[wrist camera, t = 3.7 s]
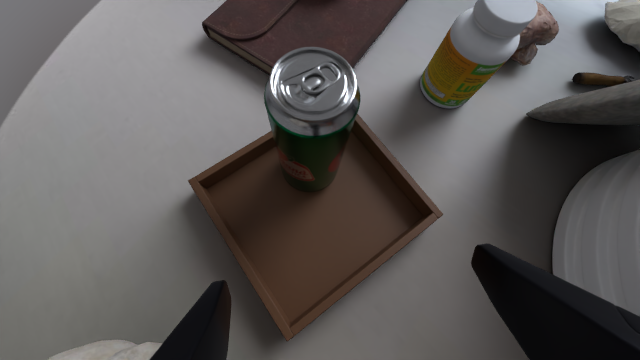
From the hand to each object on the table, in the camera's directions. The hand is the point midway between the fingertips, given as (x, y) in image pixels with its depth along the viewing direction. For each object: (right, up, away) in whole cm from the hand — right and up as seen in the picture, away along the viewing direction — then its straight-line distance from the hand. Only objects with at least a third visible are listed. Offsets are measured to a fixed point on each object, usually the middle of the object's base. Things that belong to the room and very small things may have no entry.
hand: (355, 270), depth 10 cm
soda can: (-2, +4, +15) cm, 16 cm away
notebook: (-2, +22, +21) cm, 31 cm away
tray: (-2, +1, +14) cm, 14 cm away
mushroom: (+20, +15, +19) cm, 32 cm away
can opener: (+32, +11, +19) cm, 38 cm away
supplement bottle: (+12, +13, +19) cm, 26 cm away
